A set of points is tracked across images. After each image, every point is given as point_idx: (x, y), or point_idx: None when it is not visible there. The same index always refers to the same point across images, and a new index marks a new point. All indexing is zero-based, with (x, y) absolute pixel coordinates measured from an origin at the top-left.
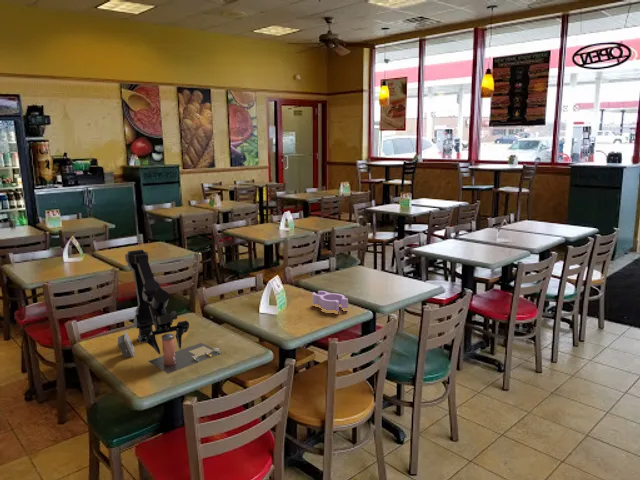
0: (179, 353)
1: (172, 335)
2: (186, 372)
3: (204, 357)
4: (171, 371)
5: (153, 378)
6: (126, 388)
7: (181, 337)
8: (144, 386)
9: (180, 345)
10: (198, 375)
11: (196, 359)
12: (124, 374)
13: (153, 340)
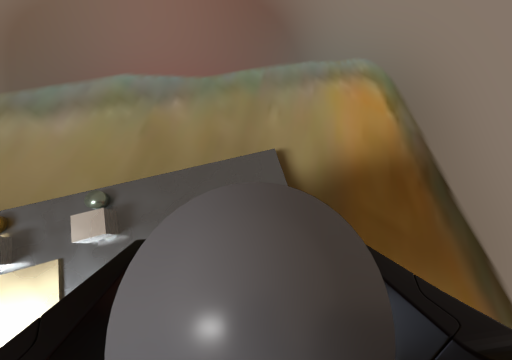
0: None
1: (159, 285)
2: (191, 158)
3: (35, 229)
4: (256, 159)
5: (326, 178)
6: (419, 153)
7: (5, 345)
8: (361, 135)
9: (126, 253)
10: (159, 109)
11: (95, 205)
12: (444, 286)
13: (491, 334)
